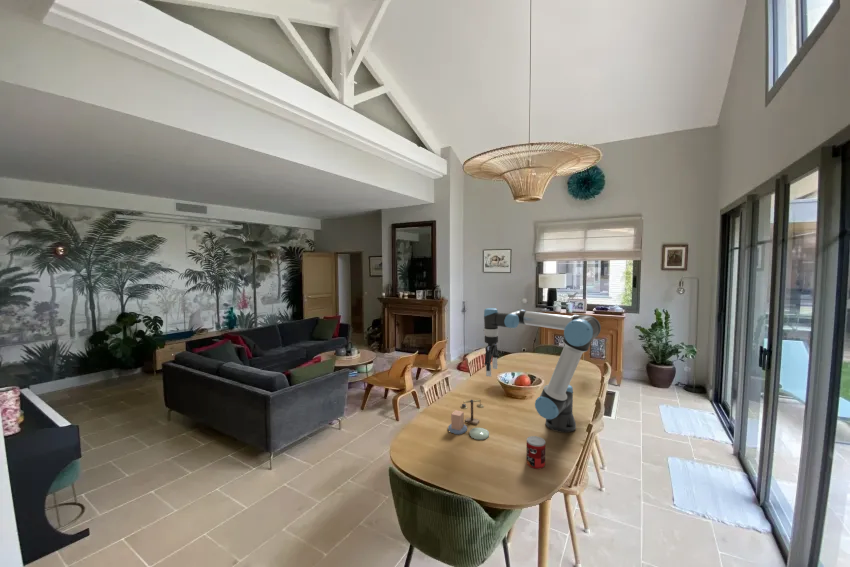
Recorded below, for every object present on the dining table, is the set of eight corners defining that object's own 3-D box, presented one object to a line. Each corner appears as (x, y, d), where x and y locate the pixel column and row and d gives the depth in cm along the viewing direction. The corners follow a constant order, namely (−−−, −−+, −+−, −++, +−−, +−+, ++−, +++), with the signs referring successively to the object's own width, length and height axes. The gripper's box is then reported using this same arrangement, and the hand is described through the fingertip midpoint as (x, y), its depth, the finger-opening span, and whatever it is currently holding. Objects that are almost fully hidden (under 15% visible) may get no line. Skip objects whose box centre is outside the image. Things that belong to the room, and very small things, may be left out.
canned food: (523, 459, 160) (523, 436, 159) (540, 458, 160) (541, 435, 159) (530, 470, 152) (530, 445, 151) (548, 468, 153) (548, 444, 152)
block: (463, 426, 189) (463, 411, 188) (460, 430, 184) (460, 415, 184) (455, 424, 191) (455, 410, 190) (451, 428, 187) (451, 414, 186)
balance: (485, 423, 194) (484, 399, 193) (482, 426, 191) (482, 402, 189) (462, 418, 200) (461, 394, 199) (459, 421, 197) (459, 397, 196)
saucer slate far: (469, 427, 190) (469, 425, 190) (462, 436, 181) (462, 433, 181) (452, 423, 194) (452, 421, 194) (445, 431, 186) (445, 429, 186)
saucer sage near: (491, 432, 184) (491, 430, 184) (485, 441, 175) (485, 439, 175) (473, 428, 189) (473, 426, 189) (466, 437, 180) (466, 434, 180)
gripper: (490, 330, 212) (491, 365, 213) (478, 340, 189) (479, 378, 191) (503, 331, 208) (503, 366, 210) (491, 341, 186) (492, 380, 188)
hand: (491, 372), depth 201 cm, fingers open, 13 cm apart
